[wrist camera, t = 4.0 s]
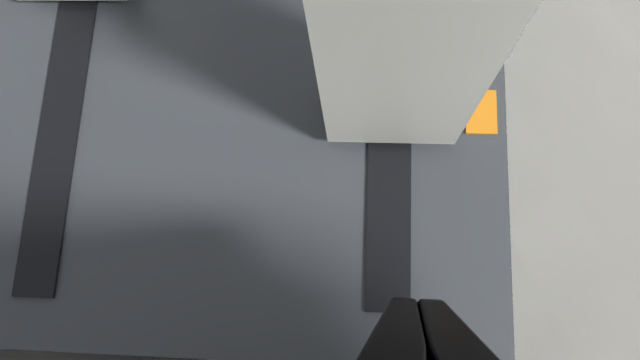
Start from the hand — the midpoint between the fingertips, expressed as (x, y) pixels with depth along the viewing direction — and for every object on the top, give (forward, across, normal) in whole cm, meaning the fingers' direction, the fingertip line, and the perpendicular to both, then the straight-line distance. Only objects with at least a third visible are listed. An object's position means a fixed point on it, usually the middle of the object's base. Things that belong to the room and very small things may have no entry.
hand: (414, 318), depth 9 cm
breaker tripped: (+7, 0, +1) cm, 7 cm away
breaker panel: (+9, -5, -1) cm, 10 cm away
